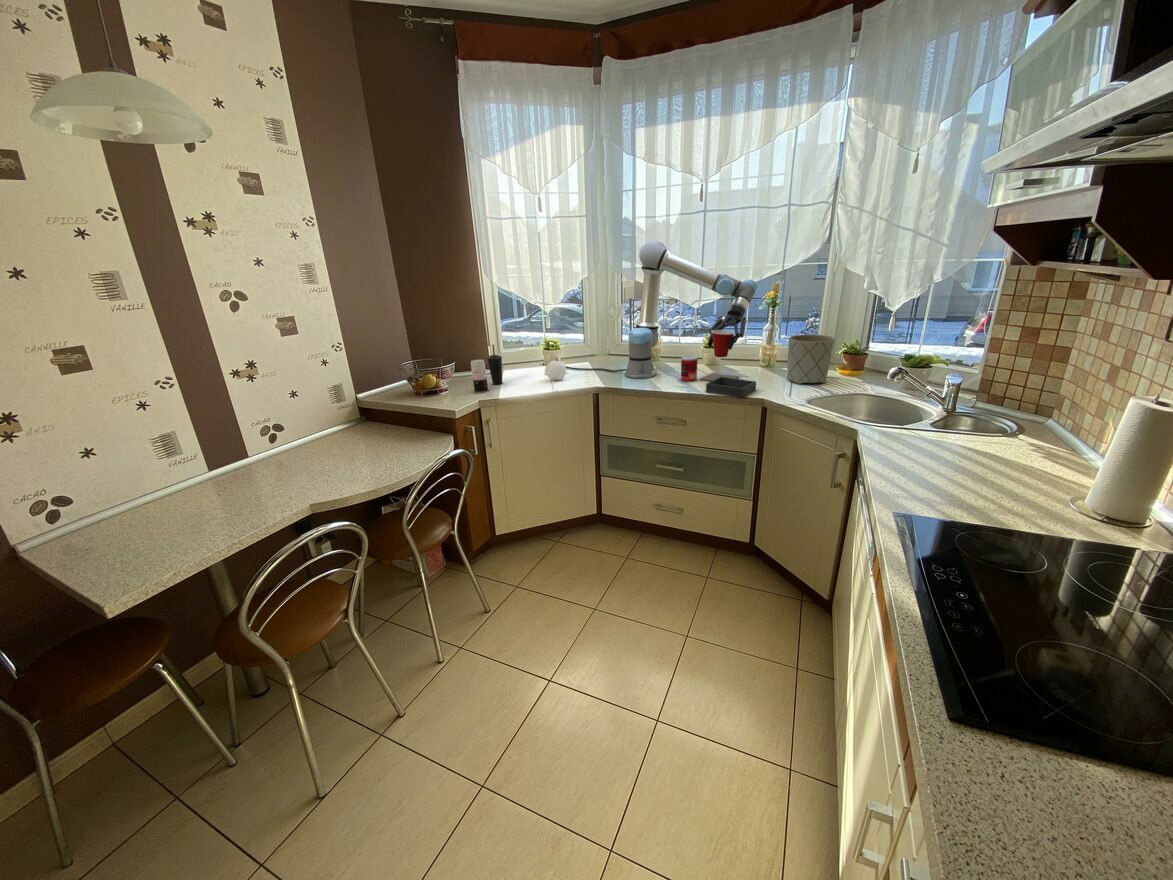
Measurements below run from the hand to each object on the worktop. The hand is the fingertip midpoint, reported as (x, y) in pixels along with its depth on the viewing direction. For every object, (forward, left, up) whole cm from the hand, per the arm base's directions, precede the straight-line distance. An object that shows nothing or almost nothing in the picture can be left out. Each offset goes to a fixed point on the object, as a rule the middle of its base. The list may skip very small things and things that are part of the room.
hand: (718, 347), depth 225 cm
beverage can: (-89, -73, -17) cm, 116 cm away
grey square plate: (-1, +5, -16) cm, 17 cm away
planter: (+35, +21, -17) cm, 44 cm away
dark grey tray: (+13, -13, -16) cm, 25 cm away
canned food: (-13, -4, -17) cm, 22 cm away
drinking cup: (-93, -60, -16) cm, 112 cm away
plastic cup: (0, +3, -5) cm, 6 cm away
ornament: (-71, -38, -17) cm, 82 cm away
